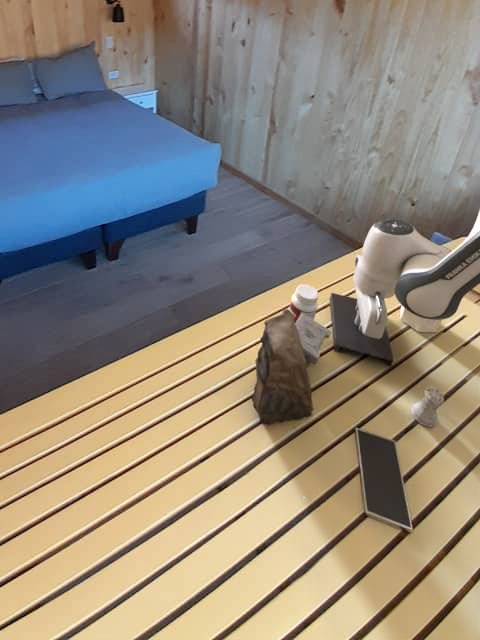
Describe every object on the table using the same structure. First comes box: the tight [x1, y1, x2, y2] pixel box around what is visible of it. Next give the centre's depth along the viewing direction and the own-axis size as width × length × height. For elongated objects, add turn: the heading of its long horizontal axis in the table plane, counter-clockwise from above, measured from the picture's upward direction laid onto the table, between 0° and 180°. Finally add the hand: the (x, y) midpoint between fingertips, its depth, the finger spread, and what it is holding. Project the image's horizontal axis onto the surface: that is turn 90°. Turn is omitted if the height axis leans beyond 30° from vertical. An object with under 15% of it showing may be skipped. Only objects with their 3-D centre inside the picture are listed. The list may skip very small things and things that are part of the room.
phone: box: [354, 427, 414, 534], centre depth 74 cm, size 7×15×1 cm, turn 158°
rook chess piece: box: [410, 386, 445, 428], centre depth 82 cm, size 4×4×8 cm
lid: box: [329, 292, 395, 368], centre depth 102 cm, size 12×18×6 cm, turn 158°
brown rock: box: [251, 308, 315, 426], centre depth 84 cm, size 13×13×20 cm
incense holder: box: [295, 314, 333, 370], centre depth 93 cm, size 10×8×10 cm
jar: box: [399, 305, 443, 333], centre depth 103 cm, size 9×8×12 cm
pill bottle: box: [288, 284, 319, 323], centre depth 103 cm, size 6×6×11 cm
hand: (360, 320), depth 102 cm, fingers open, 4 cm apart
